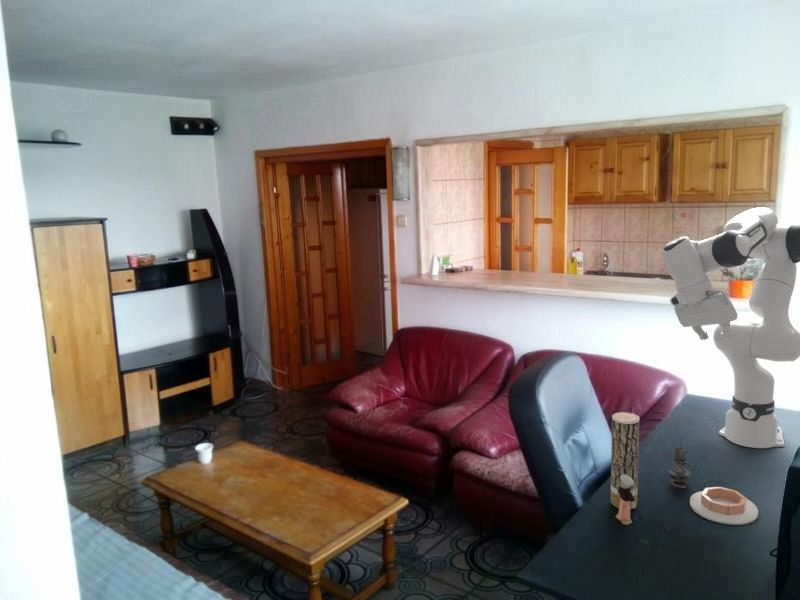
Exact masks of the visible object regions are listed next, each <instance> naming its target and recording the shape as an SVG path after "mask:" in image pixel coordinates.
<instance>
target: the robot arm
mask: <svg viewBox="0 0 800 600" xmlns="http://www.w3.org/2000/svg"><path fill="white" fill-rule="evenodd" d="M778 219H779V218H778V216H777V214H776V213H775V211H773V210H772V209H770V208H767V207H761V206H760V207H754V208H750V209H748V210H745V211H743V212H741V213H739V214H737V215H736V216H734V217H733V218H731V219H730V220H729V221H728V222H727V223H726V224H725V226H724V229H723V232H722V233H720V234H718V235H714V236H712V237H709V238H706V239H705V238H704V239H703V240H700V241H699V240H691V239H690V238H689V237H688V236H686V235H685V236H680V237H678V238H675V239H673V240H671V241H669V242H668V243H666V245H664V247H663V248H662V254H663V258H664V262H665V266H666V267H667V271H668V273H669V275H670V277H671V278H672V280H673V281H674V283H675V289H676V291H677V293H676V294H674V295H673V296H672V297H671V298H670V299H669V302H670V304H671V306H673V309H674V312H675V315H676V317H677V320H678V322H679V323H680V325H681V326H682V327H684V328H689V327H690V328H691V327H692V330H693V331H694V332H695V334H697V336H698V337H699V339H700V341H701V340H702V341H705V340H708V339H709V335H708V332H705V330H704V328H702V327H703V326H711V325H713V326H714V325H717V326H716V327H715V329H714V331H713V336H712V337H713V343H714V345H715V347H716V348H717V349H718V350H719V351H720V352H721V353H722V354H723V355H724V356H725V357H726V359H727V360H728V361H729V364H730V367H731V368H732V372H733V377H734V379H733V381H734V382H733V383H734V385H733V386H734V389H733V390H734V391H733V396H732V399H731V407H732V408H730V409H729V410H728V411H727V412H726V415H725V425H724V427H723V428H721V429H720V430H719V432H718V434H719V435H720V436H722V437H725V438H726V439H727V440H728V441H730V442H732V443H734V444H735V445H738V446H741V447H747V448H752V449H754V448H755V449H769V448H770V449H771V448H773V447H774V448H775V447H776V448H777V447H778V448H780V447H781V448H782V447H784V446H785V441H784V436H783V430H782V428H781V427H780V426H778V425H779V420H778V419H777V416H776V413H775V406H776V405H775V400H774V393H775V392H774V391H775V378H774V376H773V375H772V373H771V372H770V371H769V370H768V369H766V368H765V367H763V366H762V365H761V364H760V363H759V362H758V359H759V360H766V361H772V362H784V363H785V362H794V361H796V360H798V359H799V358H800V332H799V331H798V330H797V329H796V328H795V327H794V326H793V324H792V322H791V321H790V317H789V309H790V303H791V300H792V296H793V292H794V289H795V284H796V280H797V267H798V266H797V264H798V263H800V223H791V224H788V223H779V221H778ZM748 259H752V260H753V259H761V260H762V259H763V260H764V262H763V264H762V266H761V267H760V269H759V272H758V274H757V277H756V278H755V282H754V285H753V288H752V290H751V294H750V297H749V299H748V305H749V307H750V310H751V311H752V312H753V313H754V314H756V315H757V316H758V317H761V318H763V321H762V323H758V322H757V323H756V322H750V321H749V322H748V321H740V320H737V319H738V313H737V310H736V308H735V306H734V304H733V303H732V301H731V299H730V298H729V296H727V295H726V294H725V292H723V291H722V290H720V289H714V288H713V285H712V283H711V280H710V278H709V276H708V275H709V274H712V273H714V272H715V273H716V272H719V271H722V270H725V269H729V268H735V267H740V266H743V265H744V264H746V262H747V261H748Z"/></svg>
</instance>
